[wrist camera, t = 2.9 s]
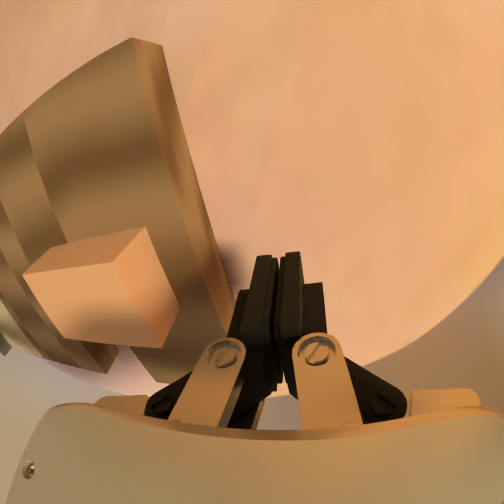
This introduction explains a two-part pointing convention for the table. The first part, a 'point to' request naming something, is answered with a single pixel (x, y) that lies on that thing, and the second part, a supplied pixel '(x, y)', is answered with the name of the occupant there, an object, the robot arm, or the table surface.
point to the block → (106, 290)
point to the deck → (108, 205)
